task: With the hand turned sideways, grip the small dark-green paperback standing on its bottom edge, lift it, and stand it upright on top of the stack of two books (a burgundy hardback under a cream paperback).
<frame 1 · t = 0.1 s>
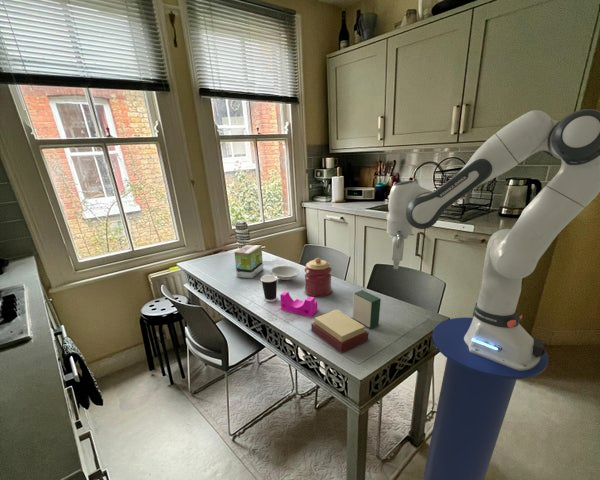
hand: (395, 264, 120), 24 cm above the table, tool pointing down, fingers open, 8 cm apart
book: (365, 322, 129), on the table
dixie cup: (270, 299, 151), on the table
tea box: (250, 273, 182), on the table
toy block: (299, 310, 140), on the table
dish: (285, 279, 172), on the table
book stack: (338, 335, 121), on the table
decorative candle: (245, 260, 202), on the table
kitchen canister: (318, 291, 157), on the table
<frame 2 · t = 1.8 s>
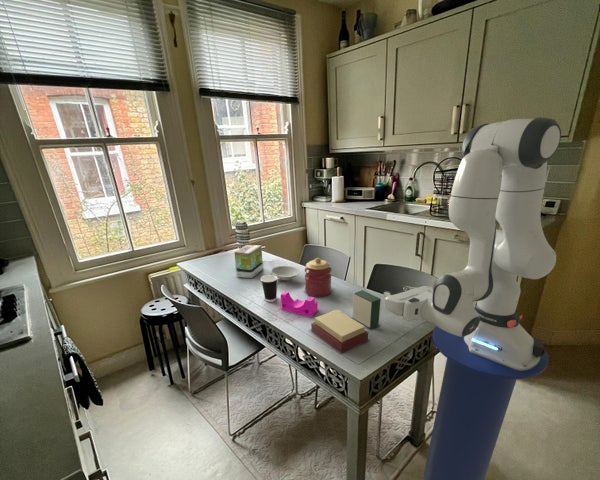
hand: (395, 290, 112), 18 cm above the table, tool horizontal, fingers open, 8 cm apart
nothing on the table moved.
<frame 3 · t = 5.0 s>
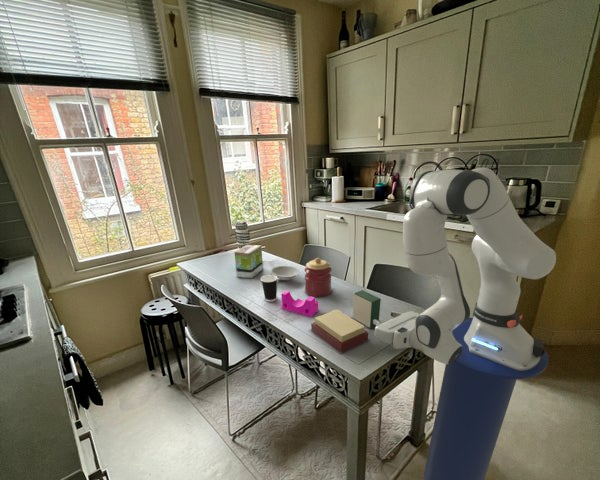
hand: (383, 316, 119), 7 cm above the table, tool horizontal, fingers open, 8 cm apart
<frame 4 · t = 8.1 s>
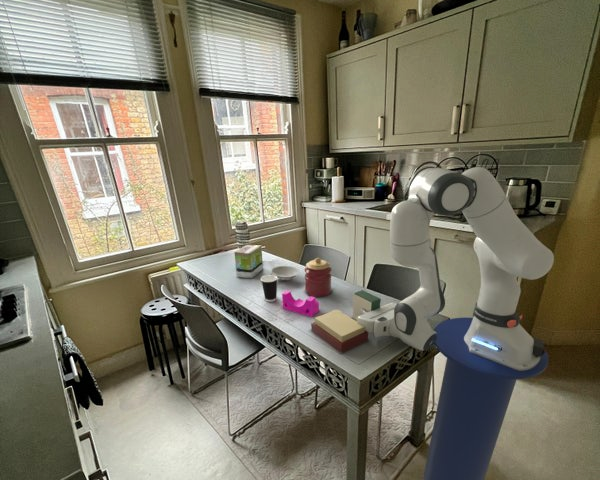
hand: (366, 308, 126), 7 cm above the table, tool horizontal, fingers closed on book, 4 cm apart
book: (365, 322, 129), on the table, touching gripper
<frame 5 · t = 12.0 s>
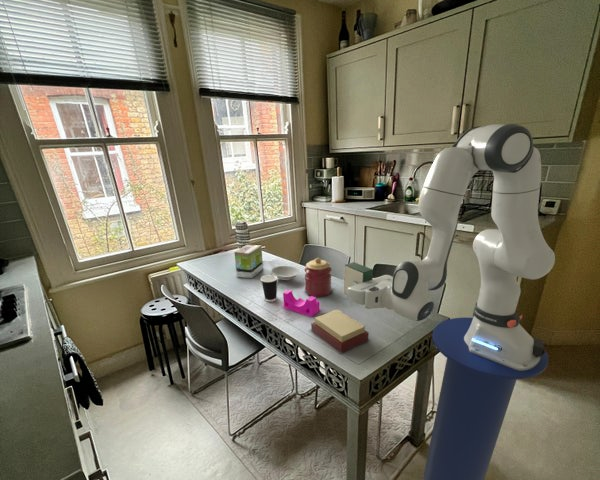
hand: (358, 280, 117), 20 cm above the table, tool horizontal, fingers closed on book, 4 cm apart
book: (357, 296, 120), point 14 cm above the table, touching gripper
when the fingers open (13 cm above the table, at t = 16.0 s): book stays where it is, resting on book stack.
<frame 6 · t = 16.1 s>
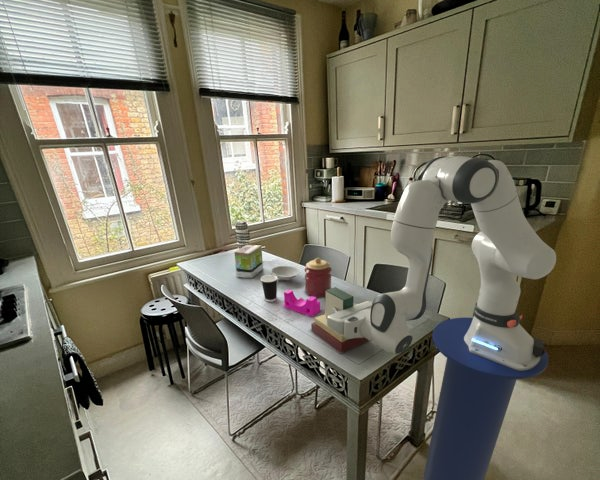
hand: (339, 306, 115), 12 cm above the table, tool horizontal, fingers open, 5 cm apart
book: (338, 321, 118), point 6 cm above the table, touching book stack
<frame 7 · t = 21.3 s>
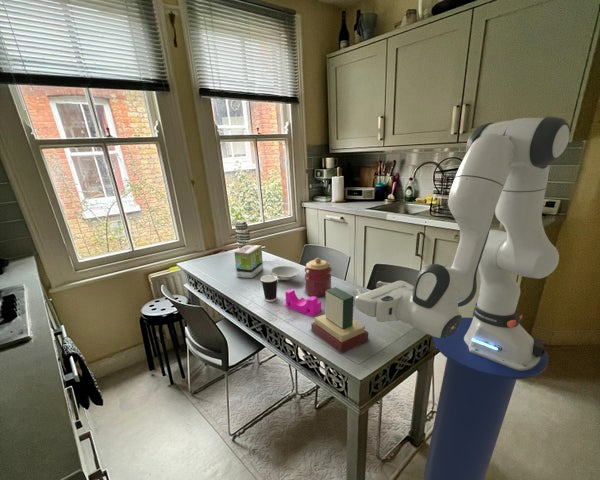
hand: (366, 287, 100), 25 cm above the table, tool horizontal, fingers open, 8 cm apart
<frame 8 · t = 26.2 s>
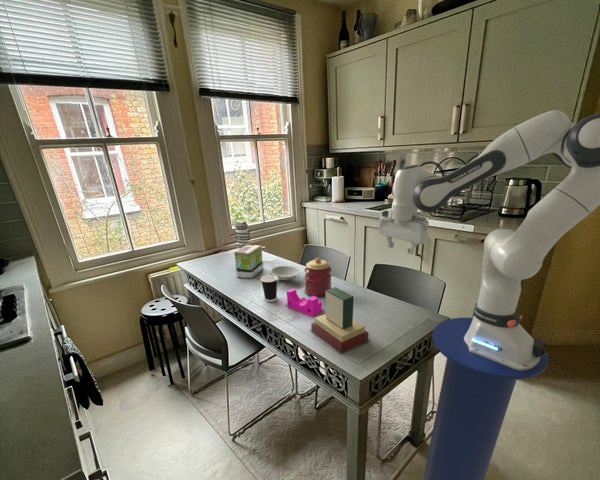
hand: (400, 250, 119), 29 cm above the table, tool pointing down, fingers open, 8 cm apart
at the end: book inside the target area on the book stack (0.1 cm from its centre), point 6.0 cm above the book stack's base; book tilted 0°; the gripper is holding nothing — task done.
